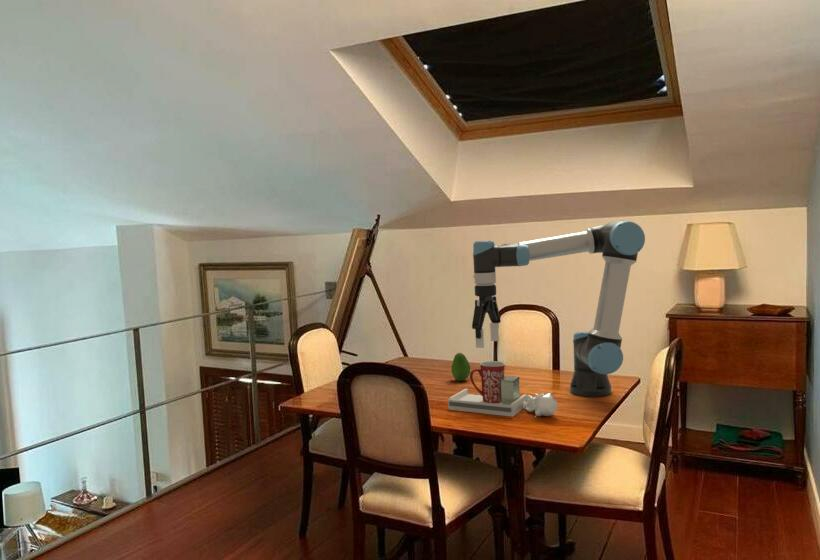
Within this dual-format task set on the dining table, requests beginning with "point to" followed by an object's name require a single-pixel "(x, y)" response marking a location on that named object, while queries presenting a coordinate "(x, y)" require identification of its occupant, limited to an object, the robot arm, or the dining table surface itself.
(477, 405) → the shelf
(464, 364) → the avocado
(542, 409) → the figurine
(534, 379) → the dining table surface
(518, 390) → the tea tin
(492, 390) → the mug
